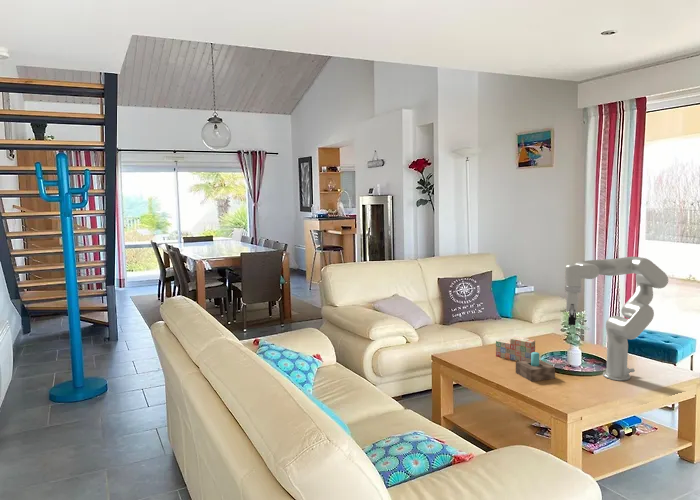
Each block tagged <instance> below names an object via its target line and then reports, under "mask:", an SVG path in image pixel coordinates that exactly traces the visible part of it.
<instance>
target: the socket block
mask: <svg viewBox="0 0 700 500" xmlns="http://www.w3.org/2000/svg"><path fill="white" fill-rule="evenodd" d="M515 374H517V375H519V376H521V377H522V378H524V379H526V380H528V381H530V382H537V381H545V380H553V379H556V366H554V365H551V364H550V363H547V362H546V361H543V360H541V359H539V366H535V367H533V366H531V360H527V361H515Z"/></svg>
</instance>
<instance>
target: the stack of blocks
mask: <svg viewBox="0 0 700 500" xmlns="http://www.w3.org/2000/svg"><path fill="white" fill-rule="evenodd" d="M532 352H536V340H535V339H530V338H525V337H519V336H513V337H511V338H510V340H508V339H503V338H499V339H498V340H496V341H495V357H498V358H499V357H500V358H501V359H502V358H503V359H508V360H512V361H515V362H518V361H527V360H531V353H532Z"/></svg>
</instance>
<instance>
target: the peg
mask: <svg viewBox="0 0 700 500" xmlns="http://www.w3.org/2000/svg"><path fill="white" fill-rule="evenodd" d="M539 360H540V352H537V351H535V352H532V353H531V366H533V367H535V366H539Z"/></svg>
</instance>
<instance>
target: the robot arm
mask: <svg viewBox="0 0 700 500" xmlns="http://www.w3.org/2000/svg"><path fill="white" fill-rule="evenodd" d="M564 269H565V270H564V271H565V272H564V273H565V275H564V292H565V293H566V305H565V306H566V309H565V312H566V313H568V321H567V322H568V325H569V326H576V321H577V312H578V307H579V294H581V293H582V280H583V279H585V280H593V279H596V278H598V277H599V276H600V275H603V276H611V277H613V276H621V275H630V274H631V275H632V274H636V275H635V281H636V289H635V292H634V293H633V294H632V295H631V296H630V298H629V299H628V300H627V301H626V302H625V303H624V305H623V306H622V307H621V311H620V312H621V315H622V316H623V317H622V316H619V315H612V316H610V317H608V318H607V320H606V322H605V330H606V331H605V332H606V336H607V341H606V344H607V345H606V369H605V371H603V372H602V376H603V377H604V378H606V379H609V380H613V381H629V380H630V379H631V374H630V373H635V371H636V370H635V368H634V367H632V368H629V367H628V359H629V358H628V351H629V342H628V340H635V339H637V338H638V337H639V336H640V335H641V334H642V333H643V332H644V331H645V330H646V328H647V327H648V326H649V324H651V322H652V320H653V319H654V316H655V311H654V309H653V307H652V306H650V304H651V302H652V301H653V298H654V291H653V290H654V289H663V288H666V286H668V284H669V277H668V275H667V273H666V272H664V271H663V269H661V268H660V267H659V266H657V265H656V264H655V263H654V262H653V261H652V260H650V259H649V258H646V257H640V256H625V257H617V258H605V259H590V260H582V261H577V262H575V263H569V264H566V266H565V268H564ZM653 288H654V289H653Z"/></svg>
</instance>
